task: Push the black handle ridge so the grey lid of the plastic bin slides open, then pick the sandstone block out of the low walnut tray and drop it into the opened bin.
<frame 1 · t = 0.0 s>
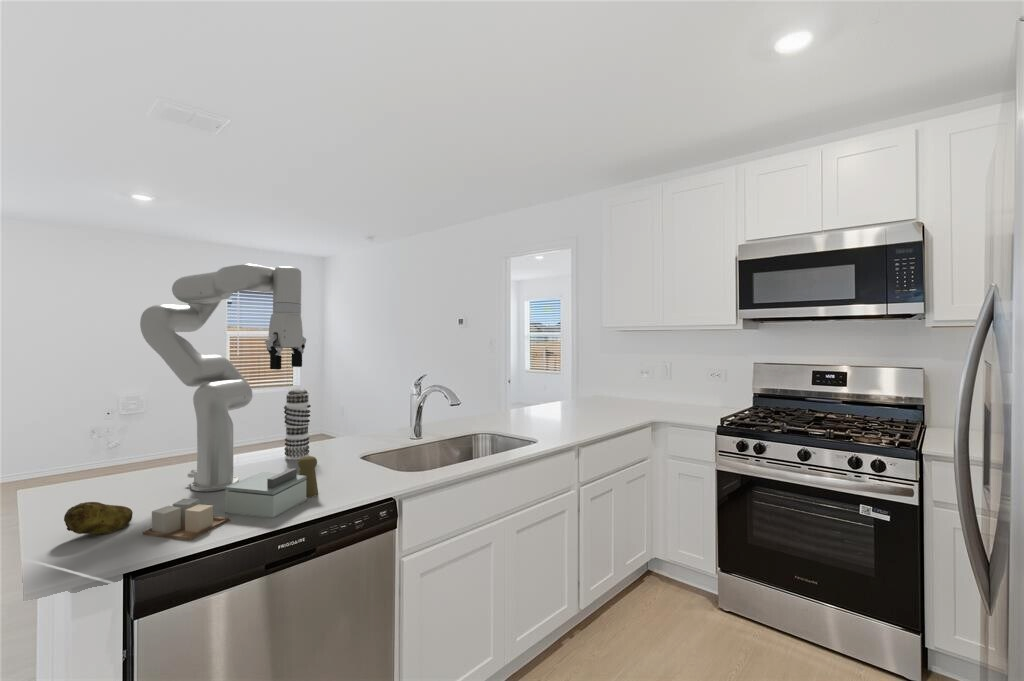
hand: (286, 368, 147), 37 cm above the counter, tool pointing down, fingers open, 9 cm apart
grey block c: (166, 530, 118), resting on tray
tray: (187, 528, 120), on the counter
lid: (267, 478, 135), point 8 cm above the counter, slide at 0.0 cm
cork: (307, 495, 146), on the counter
grey block b: (186, 521, 124), resting on tray
decorative candle: (296, 457, 187), on the counter
potato: (100, 534, 117), on the counter
bin: (267, 507, 135), on the counter
sandstone block: (199, 528, 120), resting on tray
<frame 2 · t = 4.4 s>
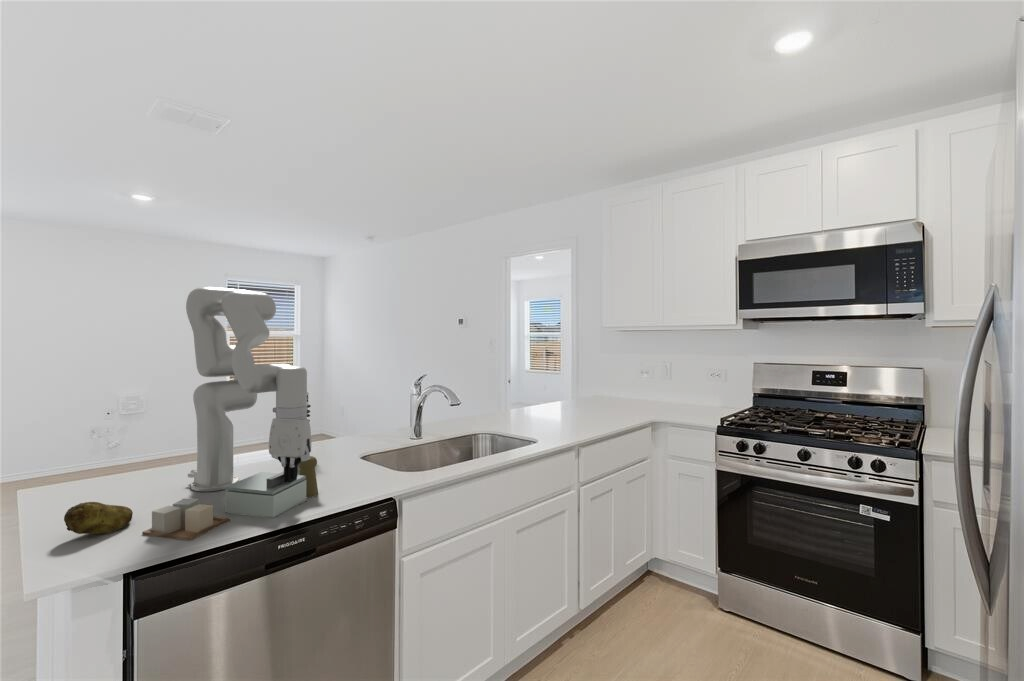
hand: (290, 480, 134), 8 cm above the counter, tool pointing down, fingers closed
lid: (266, 478, 135), point 8 cm above the counter, slide at 0.2 cm, touching gripper
everything else where it was.
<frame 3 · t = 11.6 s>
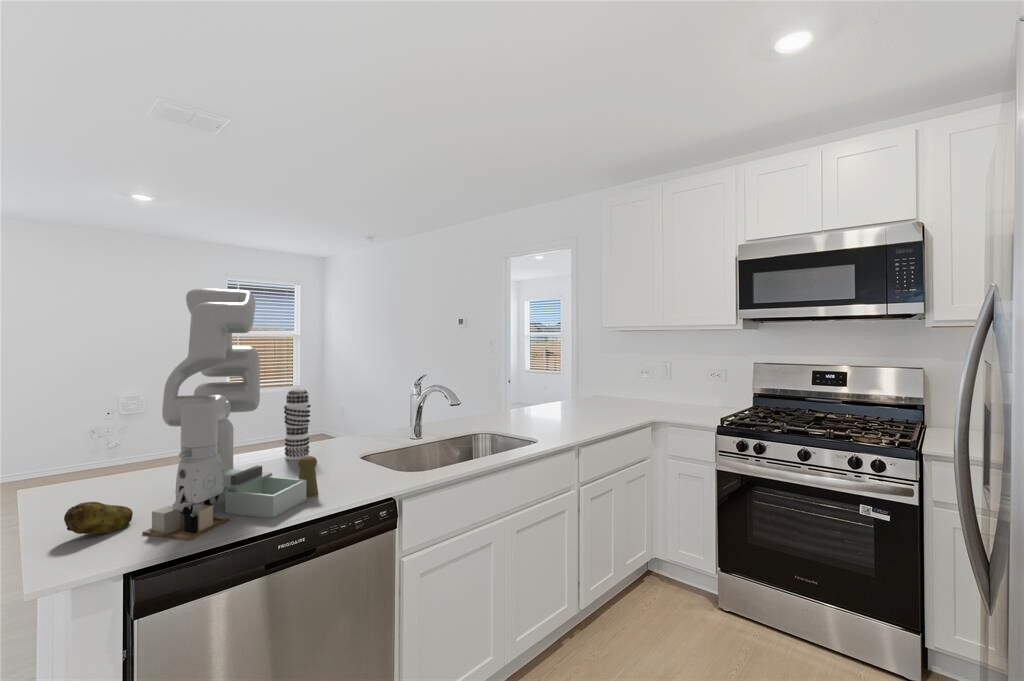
hand: (199, 527, 120), 1 cm above the counter, tool pointing down, fingers closed on sandstone block, 4 cm apart
lid: (232, 475, 137), point 8 cm above the counter, slide at 10.8 cm
sandstone block: (199, 528, 120), resting on tray, touching gripper
everything else where it was.
when the fingers open (9 cm above the counter, at t = 15.0 s): sandstone block drops 8 cm, resting on bin.
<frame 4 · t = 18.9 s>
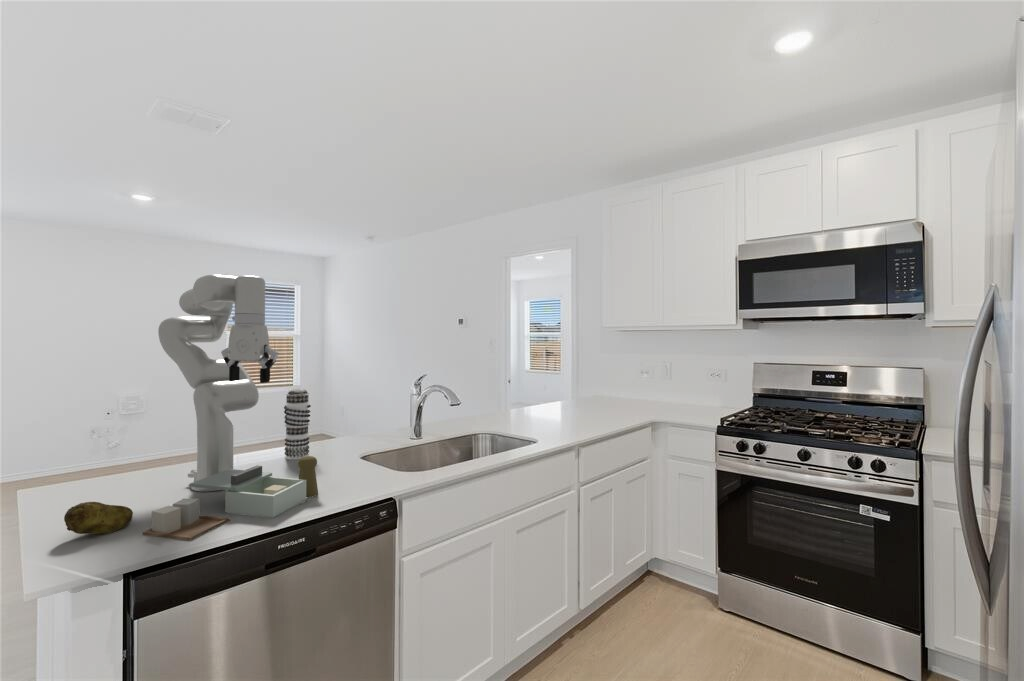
hand: (249, 381, 140), 33 cm above the counter, tool pointing down, fingers open, 9 cm apart
sandstone block: (275, 506, 135), point 1 cm above the counter, touching bin
everything else where it was.
at the end: lid slide at 10.8 cm; sandstone block inside the target area on the bin (2.5 cm from its centre), point 0.6 cm above the bin's base; the gripper is holding nothing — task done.
